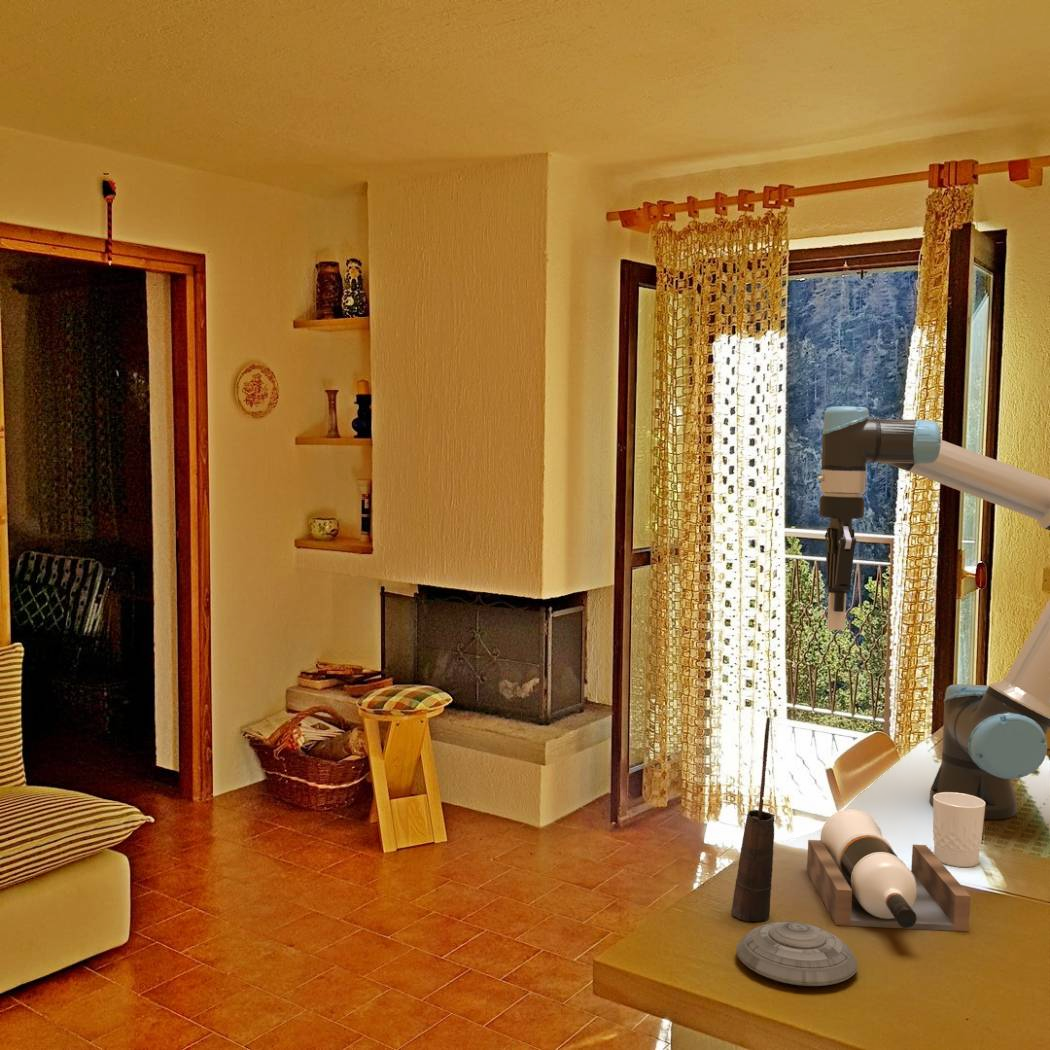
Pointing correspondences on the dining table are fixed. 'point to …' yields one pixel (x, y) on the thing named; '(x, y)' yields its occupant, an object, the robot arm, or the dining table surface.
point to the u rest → (934, 905)
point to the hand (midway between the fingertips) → (835, 629)
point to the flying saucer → (797, 954)
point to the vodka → (870, 866)
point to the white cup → (957, 828)
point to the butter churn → (756, 859)
